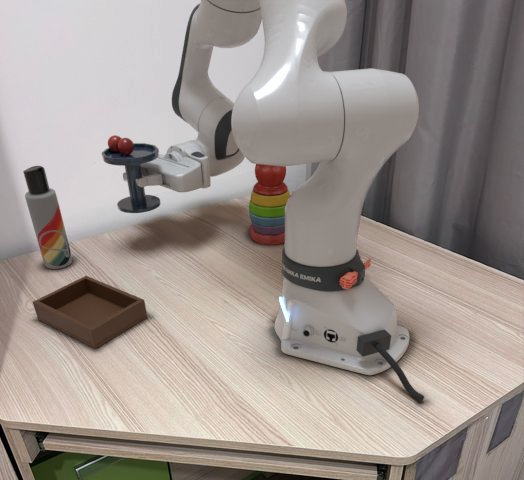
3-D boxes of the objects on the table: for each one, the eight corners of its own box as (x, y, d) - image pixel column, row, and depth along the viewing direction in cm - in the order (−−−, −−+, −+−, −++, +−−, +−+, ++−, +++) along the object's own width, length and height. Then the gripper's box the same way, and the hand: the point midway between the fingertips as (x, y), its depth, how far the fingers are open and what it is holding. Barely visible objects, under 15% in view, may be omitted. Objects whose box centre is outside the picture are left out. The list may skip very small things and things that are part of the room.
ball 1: (128, 139, 108) (116, 129, 108) (116, 146, 106) (104, 136, 107) (126, 151, 111) (115, 141, 111) (115, 158, 109) (103, 148, 109)
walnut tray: (147, 317, 95) (144, 299, 93) (95, 348, 88) (91, 330, 85) (90, 292, 103) (86, 275, 101) (37, 319, 95) (32, 301, 93)
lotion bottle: (64, 270, 110) (38, 172, 98) (39, 268, 111) (10, 171, 99) (77, 258, 114) (54, 163, 103) (53, 256, 115) (27, 161, 104)
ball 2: (134, 135, 106) (121, 133, 107) (124, 144, 104) (111, 142, 106) (139, 150, 108) (127, 147, 110) (130, 159, 107) (117, 156, 108)
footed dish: (176, 202, 115) (169, 147, 109) (138, 219, 108) (128, 162, 101) (140, 192, 121) (131, 140, 114) (101, 208, 113) (90, 153, 107)
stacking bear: (298, 228, 125) (300, 150, 114) (289, 247, 117) (290, 164, 106) (253, 225, 127) (251, 147, 116) (242, 243, 119) (238, 161, 109)
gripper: (153, 141, 123) (100, 155, 115) (213, 158, 111) (158, 175, 103) (157, 169, 126) (106, 184, 118) (215, 188, 114) (163, 207, 107)
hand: (131, 180), depth 111 cm, fingers closed on footed dish, 3 cm apart
